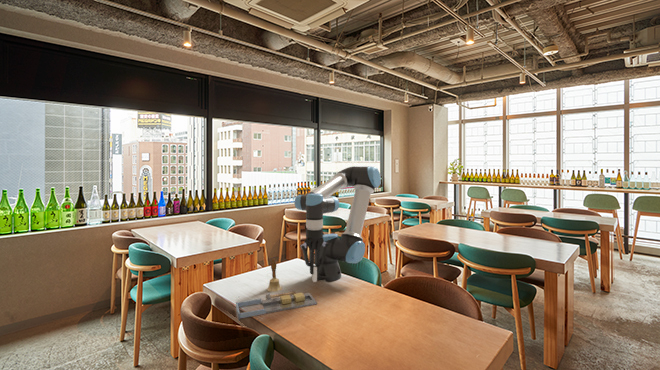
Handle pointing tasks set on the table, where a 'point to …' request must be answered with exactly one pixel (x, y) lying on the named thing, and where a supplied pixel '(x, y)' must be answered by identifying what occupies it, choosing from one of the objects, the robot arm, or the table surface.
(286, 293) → the hammer
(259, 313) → the tray
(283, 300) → the chip
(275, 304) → the slot board
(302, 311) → the table surface
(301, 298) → the yellow square block
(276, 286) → the hand bell
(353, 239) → the robot arm
